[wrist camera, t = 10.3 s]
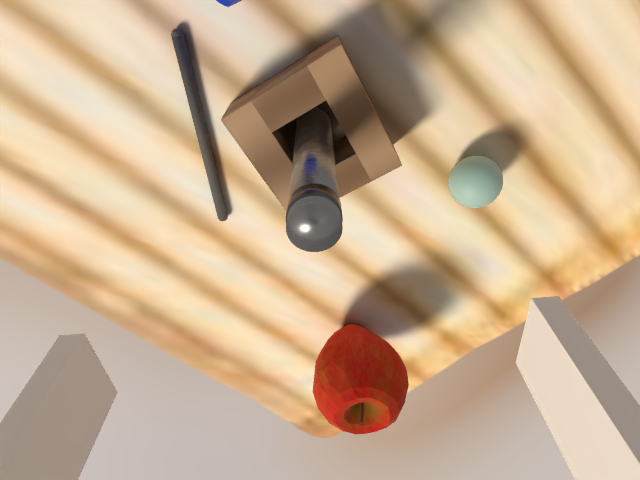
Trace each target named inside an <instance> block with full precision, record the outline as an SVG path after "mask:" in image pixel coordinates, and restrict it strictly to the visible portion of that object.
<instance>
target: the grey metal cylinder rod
mask: <svg viewBox="0 0 640 480" xmlns="http://www.w3.org/2000/svg"><path fill="white" fill-rule="evenodd" d="M286 232H287V235H288V238H289V239H290V241H291V242H292V243H293V244H294V245H295V246H296V247H298V248H300V249H302V250H305V251H309V252H319V251H324V250H327V249H329V248H331V247H332V246H333V245H335V244H336V243H337V241H338V240H339V239H340V237H341V234H342V210H341V202H340V199H339V192H338V183H337V174H336V165H335V156H334V147H333V138H332V129H331V121H330V118H329V116H328V115H327V113H325V112H324V111H323V110H321V109H318V108H312V109H311V110H309V111H307V112H306V113H304V114H302V115H301V116H299V117H298V120H297V126H296V136H295V146H294V155H293V165H292V175H291V184H290V194H289V200H288V204H287V213H286Z"/></svg>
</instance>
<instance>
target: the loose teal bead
mask: <svg viewBox="0 0 640 480" xmlns="http://www.w3.org/2000/svg"><path fill="white" fill-rule="evenodd" d="M502 186H503V175H502V172H501V170H500V168H499V166H498V165H497V164H496V163H495V162H494V161H493V160H491V159H489V158H487V157H483V156H470V157H467V158H464V159H462V160H461V161H459V162H458V163H457V164H456V165H455V166H454V167H453V169H452V170H451V172H450V174H449V178H448V188H449V191H450V194H451V196H452V197H453V198H454V200H455V201H457V202H458V203H459V204H461V205H463V206H466V207H470V208H479V207H483V206H486V205H488V204H490V203H491V202H493V201H494V200H495V199H496V198H497V196H498V195H499V194H500V192H501V189H502Z"/></svg>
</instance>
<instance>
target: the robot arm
mask: <svg viewBox="0 0 640 480" xmlns="http://www.w3.org/2000/svg"><path fill="white" fill-rule="evenodd" d="M516 364H517V366H518V368H519V370H520V372H521V374H522V376H523V378H524V380H525V382H526V383H527V386H528V388H529V390H530V392H531V394H532V396H533V398H534V400H535V402H536V404H537V406H538V407H539V409H540V411H541V413H542V415H543V417H544V419H545V421H546V423H547V425H548V427H549V429H550V431H551V433H552V435H553V437H554V439H555V441H556V443H557V445H558V447H559V449H560V451H561V453H562V455H563V456H564V459H565V461H566V463H567V464H568V467H569V468H570V470H571V472H572V474H573V476H574V478H575V480H640V405H639V404H638V403H637V401H636V400H635V399H634V397H633V396H632V395H631V393H630V392H629V391H628V389H627V388H626V386H625V385H624V384H623V383H622V381H621V380H620V379H619V377H618V376H617V374H616V373H615V372H614V370H613V369H612V368H611V366H610V365H609V364H608V362H607V361H606V359H605V358H604V357H603V355H602V354H601V353H600V351H599V350H598V349H597V347H596V346H595V345H594V343H593V342H592V340H591V339H590V338H589V336H588V335H587V334H586V332H585V331H584V330H583V328H582V327H581V326H580V324H579V323H578V322H577V320H576V319H575V318H574V316H573V315H572V313H571V312H570V311H569V310H568V308H567V307H566V305H565V304H564V303H563V301H562V300H561V299H560V297H559V296H555V297H542V298H531V303H530V307H529V311H528V315H527V319H526V323H525V327H524V332H523V335H522V340H521V344H520V348H519V352H518V356H517V361H516ZM116 394H117V390H116V389H115V387H114V385H113V384H112V382H111V380H110V378H109V376H108V374H107V373H106V371H105V369H104V368H103V366H102V364H101V362H100V360H99V358H98V357H97V355H96V353H95V351H94V350H93V348H92V346H91V344H90V343H89V341H88V339H87V337H86V335H85V334H74V335H61V336H59V337H58V339H57V340H56V342H55V343H54V345H53V346H52V348H51V349H50V350H49V352H48V353H47V355H46V356H45V358H44V359H43V361H42V362H41V364H40V365H39V367H38V368H37V370H36V371H35V373H34V374H33V376H32V377H31V379H30V380H29V381H28V383H27V384H26V386H25V388H24V389H23V390H22V392H21V394H20V395H19V397H18V398H17V399H16V401H15V402H14V404H13V405H12V407H11V408H10V410H9V411H8V413H7V414H6V415H5V417H4V418H3V420H2V421H1V423H0V480H78V478H79V476H80V474H81V472H82V469H83V467H84V465H85V463H86V460H87V458H88V456H89V454H90V451H91V449H92V447H93V445H94V443H95V441H96V438H97V436H98V434H99V432H100V430H101V427H102V425H103V423H104V421H105V419H106V416H107V414H108V412H109V410H110V407H111V405H112V403H113V401H114V399H115V396H116Z"/></svg>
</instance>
